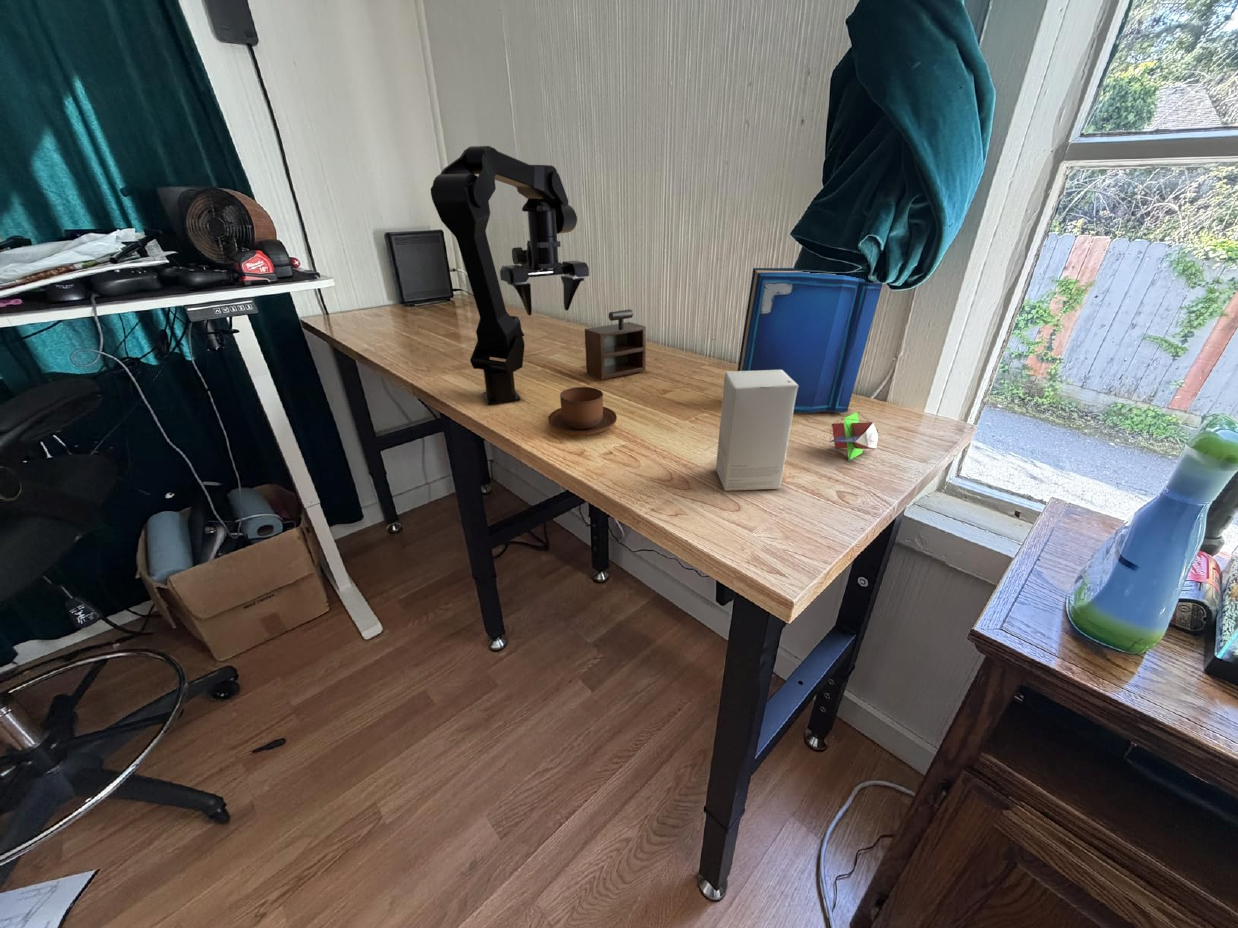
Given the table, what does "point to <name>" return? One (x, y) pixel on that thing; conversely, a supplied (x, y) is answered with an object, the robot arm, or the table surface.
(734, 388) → the cosmetic box
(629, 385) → the table surface
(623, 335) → the shelf
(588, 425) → the cup and saucer
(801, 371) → the book
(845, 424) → the geometric puzzle
